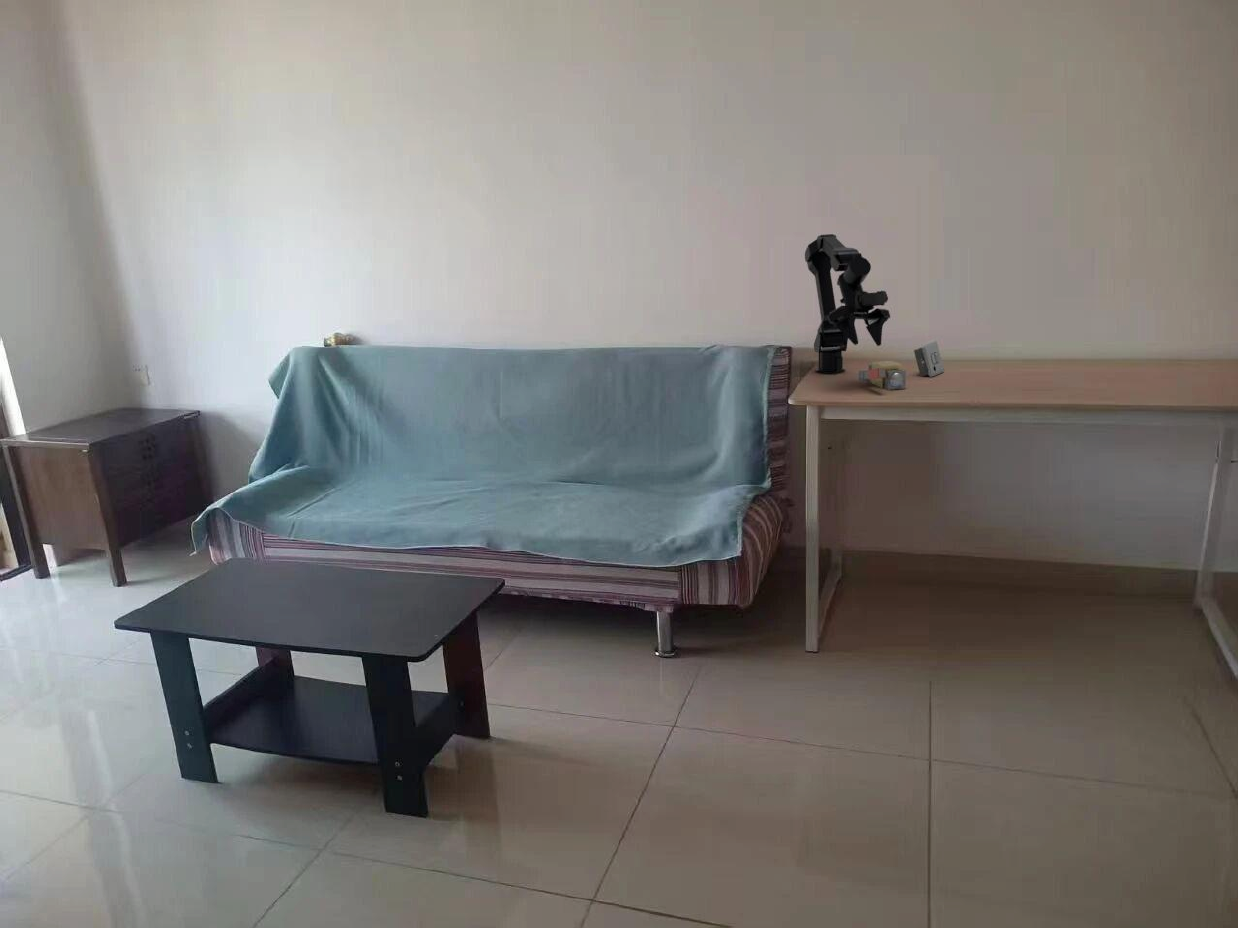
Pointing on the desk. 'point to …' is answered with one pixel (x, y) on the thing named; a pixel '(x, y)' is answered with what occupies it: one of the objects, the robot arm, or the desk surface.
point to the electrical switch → (929, 359)
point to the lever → (871, 374)
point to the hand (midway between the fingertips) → (868, 344)
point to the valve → (889, 375)
